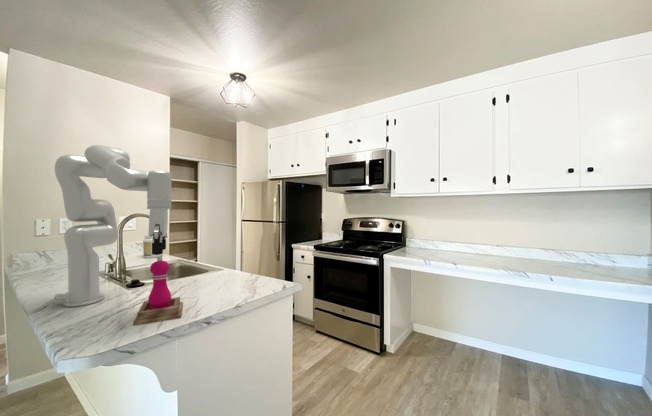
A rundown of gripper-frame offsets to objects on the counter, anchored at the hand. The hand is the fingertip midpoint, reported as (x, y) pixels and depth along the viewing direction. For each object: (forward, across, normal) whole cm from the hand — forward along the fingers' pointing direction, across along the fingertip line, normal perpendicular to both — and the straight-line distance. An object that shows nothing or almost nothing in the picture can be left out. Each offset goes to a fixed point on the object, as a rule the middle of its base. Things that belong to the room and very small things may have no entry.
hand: (159, 251), depth 98 cm
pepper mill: (+22, 0, 0) cm, 22 cm away
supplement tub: (+25, -126, -18) cm, 130 cm away
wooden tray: (+23, 0, 0) cm, 23 cm away
